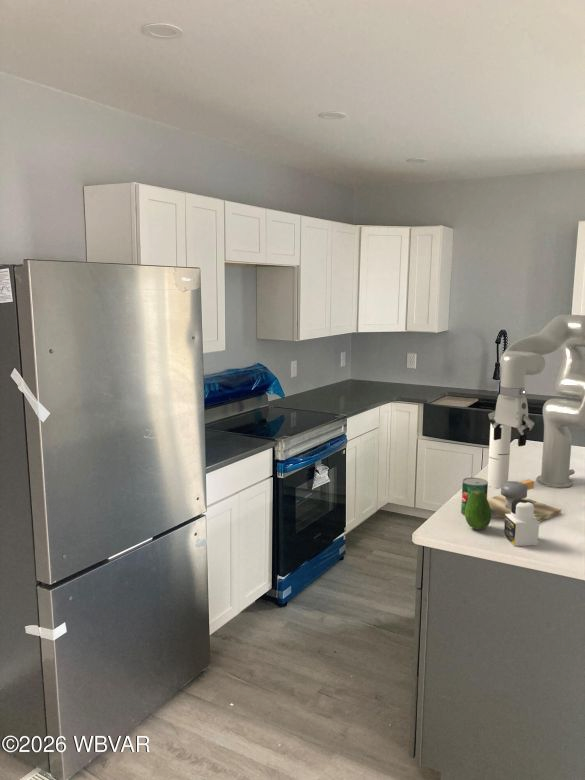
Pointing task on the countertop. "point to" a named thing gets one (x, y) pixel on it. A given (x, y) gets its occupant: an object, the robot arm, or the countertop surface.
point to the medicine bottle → (521, 524)
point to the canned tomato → (472, 489)
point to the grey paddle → (516, 489)
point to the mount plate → (541, 511)
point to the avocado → (477, 510)
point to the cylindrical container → (499, 457)
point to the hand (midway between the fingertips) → (509, 442)
